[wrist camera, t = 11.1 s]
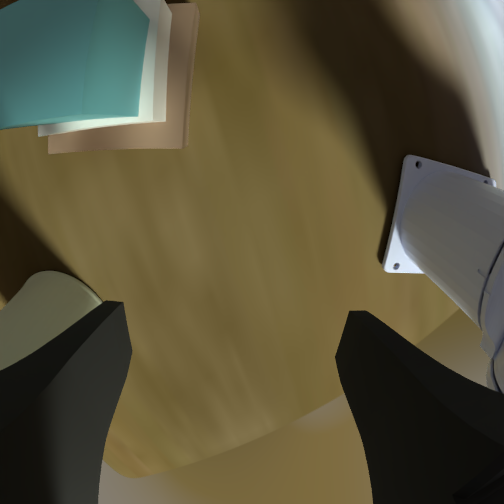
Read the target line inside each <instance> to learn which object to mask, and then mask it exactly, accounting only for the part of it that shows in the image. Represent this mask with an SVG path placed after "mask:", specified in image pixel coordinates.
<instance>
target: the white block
mask: <svg viewBox="0 0 504 504" xmlns="http://www.w3.org/2000/svg"><path fill="white" fill-rule="evenodd" d="M133 1H134V2H135V3H136V4H137V5H138V6H139V8H140V9H141V10H142V11H143V12H144V13H145V15H146V16H147V17H148V18H149V19H150V22H149V27H148V34H147V40H146V47H145V54H144V62H143V70H142V79H141V89H140V100H139V114H138V117H119V118H104V119H92V120H81V121H72V122H64V123H56V124H47V125H38V137H39V136H46V135H53V134H60V133H67V132H73V131H79V130H86V129H93V128H100V127H108V126H117V125H127V124H137V123H150V122H166V93H167V71H168V54H169V41H170V29H171V19H172V13H171V11H170V9H169V7H168V6H167V4H166V2H165V0H133Z"/></svg>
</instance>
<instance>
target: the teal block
mask: <svg viewBox="0 0 504 504" xmlns="http://www.w3.org/2000/svg"><path fill="white" fill-rule="evenodd" d="M149 22H150V19H149V18H148V17H147V16H146V15H145V13H144V12H143V11H142V10H141V9H140V8H139V6H138V5H137V4H136V3H135V2H134V1H133V0H19V1H17V2H14V3H12V4H10V5H8V6H6V7H4V8H2V9H0V130H3V129H10V128H18V127H26V126H36V125H47V124H56V123H64V122H72V121H81V120H92V119H104V118H119V117H138V114H139V100H140V89H141V79H142V70H143V62H144V54H145V47H146V40H147V34H148V27H149Z"/></svg>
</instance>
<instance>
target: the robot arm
mask: <svg viewBox="0 0 504 504" xmlns="http://www.w3.org/2000/svg"><path fill="white" fill-rule="evenodd" d="M417 161H418V162H419V165H418V167H417V168H416V162H417ZM395 263H397V265H396V266H395V267H393V266H394V264H395ZM382 267H383V269H384V270H385V271H386V272H391V273H425V274H426V275H427V276H428V277H429V278H430V279H431V280H432V281H433V282H434V283H435V284H436V285H437V286H438V287H439V288H441V289H442V290H443V291H444V292H445V293H446V294H447V295H448V296H449V297H450V298H451V299H452V300H453V301H454V302H455V303H456V304H457V305H458V306H459V307H460V308H461V309H462V310H463V311H464V312H465V313H466V314H467V315H468V316H469V317H470V318H471V319H472V320H473V321H474V323H476V325H477V326H478V327H479V328H480V329H481V330H482V331H483V338H482V341H481V344H480V346H481V348H482V349H483V350H484V351H485V352H486V354H487V355H488V356H489V357H490V358H491V359H490V361H489V364H488V367H487V374H486V379H487V386H488V388H487V387H484V386H482V385H480V384H478V383H475V382H473V381H471V380H469V379H467V378H465V377H463V376H461V375H460V374H458V373H456V372H454V371H452V370H451V369H449V368H447V367H445V366H444V365H442V364H441V363H439V362H437V361H436V360H434V359H433V358H432V357H430V356H429V355H427V354H426V353H424V352H423V351H421V350H420V349H418V348H417V347H416V346H414V345H413V344H411V343H410V342H409V341H407V340H406V339H405V338H403V337H402V336H401V335H399V334H398V333H397V332H395V331H394V330H393V329H391V328H390V327H389V326H387V325H386V324H385V323H383V322H382V321H381V320H379V319H378V318H376V317H375V316H374V315H372V314H371V313H369V312H367V311H349V314H348V317H347V321H346V324H345V327H344V331H343V334H342V337H341V340H340V343H339V346H338V349H337V353H336V356H335V359H336V364H337V369H338V373H339V377H340V382H341V385H342V387H343V390H344V393H345V395H346V398H347V401H348V403H349V406H350V409H351V411H352V413H353V416H354V419H355V422H356V425H357V427H358V430H359V433H360V436H361V439H362V442H363V446H364V450H365V454H366V460H367V464H368V470H369V475H370V481H371V488H372V496H373V504H504V191H503V190H501V189H498V188H496V181H495V180H494V179H491V178H489V177H486V176H483V175H480V174H477V173H474V172H471V171H468V170H464V169H461V168H458V167H455V166H451V165H448V164H444V163H441V162H437V161H433V160H430V159H426V158H422V157H418V156H414V155H407V156H406V157H405V158H404V161H403V167H402V174H401V180H400V186H399V191H398V197H397V202H396V207H395V212H394V217H393V221H392V226H391V230H390V235H389V239H388V243H387V247H386V251H385V255H384V259H383V263H382ZM131 355H132V347H131V342H130V337H129V332H128V327H127V321H126V316H125V310H124V304H123V302H117V301H107V300H106V301H104V302H103V303H101V304H100V305H98V306H97V307H96V308H94V309H93V310H91V311H90V312H89V313H87V314H86V315H85V316H83V317H82V318H81V319H79V320H78V321H77V322H75V323H74V324H73V325H71V326H70V327H69V328H67V329H66V330H65V331H63V332H62V333H61V334H59V335H58V336H56V337H55V338H53V339H52V340H50V341H49V342H47V343H46V344H45V345H43V346H42V347H40V348H39V349H37V350H36V351H34V352H33V353H31V354H29V355H28V356H26V357H25V358H23V359H21V360H19V361H17V362H16V363H14V364H12V365H10V366H8V367H6V368H4V369H2V370H0V504H98V493H99V481H100V472H101V464H102V458H103V452H104V446H105V441H106V437H107V434H108V430H109V427H110V424H111V421H112V418H113V415H114V412H115V409H116V406H117V403H118V400H119V397H120V395H121V392H122V389H123V386H124V383H125V380H126V377H127V373H128V369H129V364H130V360H131Z"/></svg>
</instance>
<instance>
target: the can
mask: <svg viewBox="0 0 504 504" xmlns="http://www.w3.org/2000/svg"><path fill="white" fill-rule="evenodd" d="M101 303H103V302H102V301H101V299H100V298H99V297H98V296H97V295H96V294H95V293H94V292H93V291H92V290H91V289H90V288H89V287H87V286H86V285H85V284H83V283H82V282H81V281H79V280H77V279H75V278H74V277H72V276H69V275H67V274H65V273H61V272H57V271H42V272H38V273H36V274H34V275H32V276H31V277H30V278H29V279H28V280H27V281H26V282H25V284H24V286H23V287H22V288H21V289H20V291H19V292H18V293H17V294H16V295H15V296H14V297H13V298H12V299H11V300H10V301H9V302H8V303H7V304H6V306H5V307H4V308H3V309H2V310H1V311H0V370H2V369H4V368H6V367H8V366H10V365H12V364H14V363H16V362H17V361H19V360H21V359H23V358H25V357H26V356H28V355H29V354H31V353H33V352H34V351H36V350H37V349H39V348H40V347H42V346H43V345H45V344H46V343H47V342H49V341H50V340H52V339H53V338H55V337H56V336H58V335H59V334H61V333H62V332H63V331H65V330H66V329H67V328H69V327H70V326H71V325H73V324H74V323H75V322H77V321H78V320H79V319H81V318H82V317H83V316H85V315H86V314H87V313H89V312H90V311H91V310H93V309H94V308H96V307H97V306H98V305H100V304H101Z"/></svg>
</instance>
